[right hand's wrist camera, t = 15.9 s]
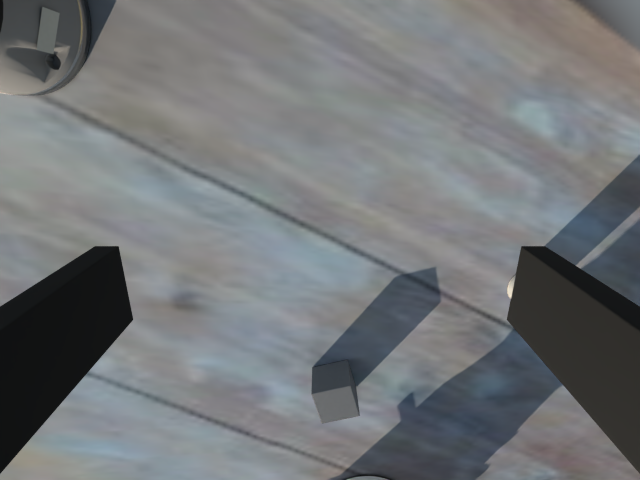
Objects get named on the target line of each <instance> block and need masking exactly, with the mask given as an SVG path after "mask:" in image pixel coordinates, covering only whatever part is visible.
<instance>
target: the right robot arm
mask: <svg viewBox="0 0 640 480" xmlns="http://www.w3.org/2000/svg"><path fill="white" fill-rule="evenodd" d="M90 39H91V20H90V13H89V8H88V4H87V0H0V92H1V93H4V94H10V95H29V96H33V95H43V94H48V93H51V92H54V91H56V90H58V89H60V88H62V87H64V86H65V85H66V84H68V83H69V82H70V81H71V80H72V79H73V78H74V77H75V76H76V75H77V74H78V72H79V71H80V69H81V68H82V66H83V64H84V62H85V60H86V57H87V54H88V50H89V46H90ZM132 320H133V317H132V312H131V307H130V302H129V297H128V292H127V287H126V282H125V277H124V272H123V266H122V261H121V256H120V251H119V246H95V247H93V248H92V249H90V250H89V251H87V252H85V253H84V254H82V255H81V256H79V257H78V258H76V259H74V260H73V261H71V262H70V263H68V264H67V265H65V266H63V267H62V268H60V269H59V270H57V271H56V272H54V273H52V274H51V275H49V276H48V277H46V278H45V279H43V280H41V281H40V282H38V283H37V284H35V285H34V286H32V287H30V288H29V289H27V290H26V291H24V292H23V293H21V294H19V295H18V296H16V297H15V298H13V299H12V300H10V301H8V302H7V303H5V304H4V305H2V306H1V307H0V473H1V472H2V471H3V470H4V469H5V468H6V466H7V465H8V464H9V463H10V462H11V461H12V459H13V458H14V457H15V456H16V455H17V454H18V452H19V451H20V450H21V449H22V448H23V447H24V445H25V444H26V443H27V442H28V441H29V440H30V439H31V437H32V436H33V435H34V434H35V433H36V432H37V430H38V429H39V428H40V427H41V426H42V425H43V423H44V422H45V421H46V420H47V419H48V418H49V417H50V415H51V414H52V413H53V412H54V411H55V410H56V408H57V407H58V406H59V405H60V404H61V403H62V401H63V400H64V399H65V398H66V397H67V396H68V395H69V393H70V392H71V391H72V390H73V389H74V388H75V386H76V385H77V384H78V383H79V382H80V381H81V379H82V378H83V377H84V376H85V375H86V374H87V373H88V371H89V370H90V369H91V368H92V367H93V366H94V364H95V363H96V362H97V361H98V360H99V359H100V357H101V356H102V355H103V354H104V353H105V352H106V350H107V349H108V348H109V347H110V346H111V345H112V344H113V342H114V341H115V340H116V339H117V338H118V337H119V335H120V334H121V333H122V332H123V331H124V330H125V328H126V327H127V326H128V325H129V324H130V323H131V322H132ZM507 320H508V322H509V323H510V324H511V325H512V326H513V327H514V328H515V330H516V331H517V332H518V333H519V334H520V335H521V337H522V338H523V339H524V340H525V341H526V342H527V344H528V345H529V346H530V347H531V348H532V349H533V350H534V352H535V353H536V354H537V355H538V356H539V357H540V359H541V360H542V361H543V362H544V363H545V364H546V366H547V367H548V368H549V369H550V370H551V371H552V373H553V374H554V375H555V376H556V377H557V378H558V379H559V381H560V382H561V383H562V384H563V385H564V386H565V388H566V389H567V390H568V391H569V392H570V393H571V395H572V396H573V397H574V398H575V399H576V400H577V401H578V403H579V404H580V405H581V406H582V407H583V408H584V410H585V411H586V412H587V413H588V414H589V415H590V417H591V418H592V419H593V420H594V421H595V422H596V423H597V425H598V426H599V427H600V428H601V429H602V430H603V432H604V433H605V434H606V435H607V436H608V437H609V439H610V440H611V441H612V442H613V443H614V444H615V446H616V447H617V448H618V449H619V450H620V451H621V452H622V454H623V455H624V456H625V457H626V458H627V459H628V461H629V462H630V463H631V464H632V465H633V466H634V468H635V469H636V470H637V471H638V472H639V473H640V307H639V306H638V305H636V304H635V303H633V302H632V301H630V300H628V299H627V298H625V297H624V296H622V295H621V294H619V293H617V292H616V291H614V290H613V289H611V288H610V287H608V286H606V285H605V284H603V283H602V282H600V281H599V280H597V279H595V278H594V277H592V276H591V275H589V274H588V273H586V272H584V271H583V270H581V269H580V268H578V267H577V266H575V265H573V264H572V263H570V262H569V261H567V260H566V259H564V258H562V257H561V256H559V255H558V254H556V253H555V252H553V251H551V250H550V249H548V248H547V247H545V246H521V251H520V256H519V261H518V266H517V272H516V277H515V282H514V287H513V292H512V297H511V302H510V307H509V312H508V317H507Z"/></svg>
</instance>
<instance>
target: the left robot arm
mask: <svg viewBox="0 0 640 480" xmlns="http://www.w3.org/2000/svg"><path fill="white" fill-rule="evenodd" d="M347 480H388V479H385V478H381V477H375V476H360V477H354V478H350V479H347Z"/></svg>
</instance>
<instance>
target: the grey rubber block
mask: <svg viewBox="0 0 640 480" xmlns="http://www.w3.org/2000/svg"><path fill="white" fill-rule="evenodd" d="M312 397H313V400H314V402H315V405H316V408H317V411H318V414H319V417H320V420H321V423H322V424H323V423H328V422H332V421H337V420H342V419H347V418H352V417H357V416H360V415H359V407H358V399H357V391H356V386H355V382H354V379H353V376H352V372H351V369H350V365H349V362H348V360H344V361H339V362H335V363H330V364H326V365H321V366H316V367H312Z"/></svg>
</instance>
